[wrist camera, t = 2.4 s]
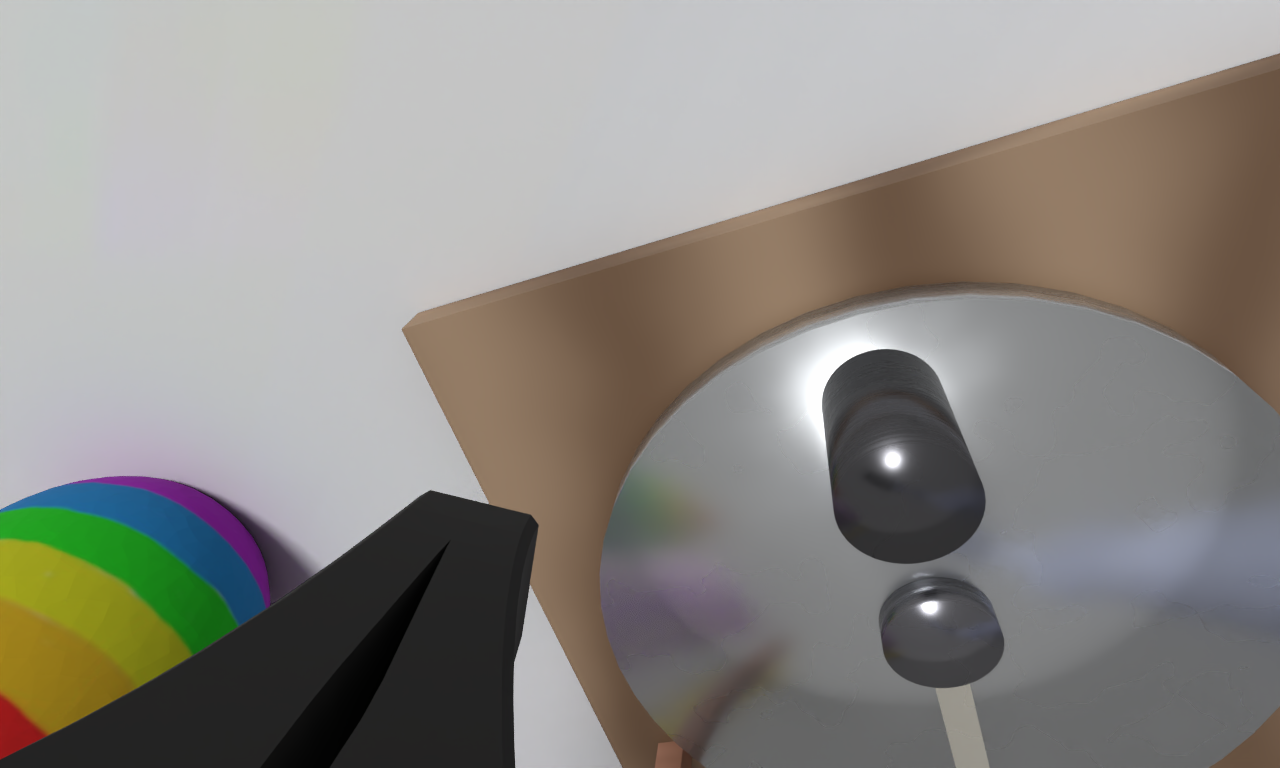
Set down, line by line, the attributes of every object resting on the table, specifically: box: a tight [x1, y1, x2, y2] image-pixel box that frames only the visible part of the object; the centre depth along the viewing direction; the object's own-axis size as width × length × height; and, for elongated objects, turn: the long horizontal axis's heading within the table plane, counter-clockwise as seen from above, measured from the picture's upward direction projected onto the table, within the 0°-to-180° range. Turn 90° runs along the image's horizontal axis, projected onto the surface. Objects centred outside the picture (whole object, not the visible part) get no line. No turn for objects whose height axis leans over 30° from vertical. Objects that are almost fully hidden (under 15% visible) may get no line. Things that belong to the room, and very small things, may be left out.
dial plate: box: [402, 54, 1280, 768], centre depth 19 cm, size 20×20×4 cm
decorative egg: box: [0, 476, 270, 759], centre depth 20 cm, size 8×8×10 cm
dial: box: [600, 281, 1280, 768], centre depth 18 cm, size 16×16×5 cm
